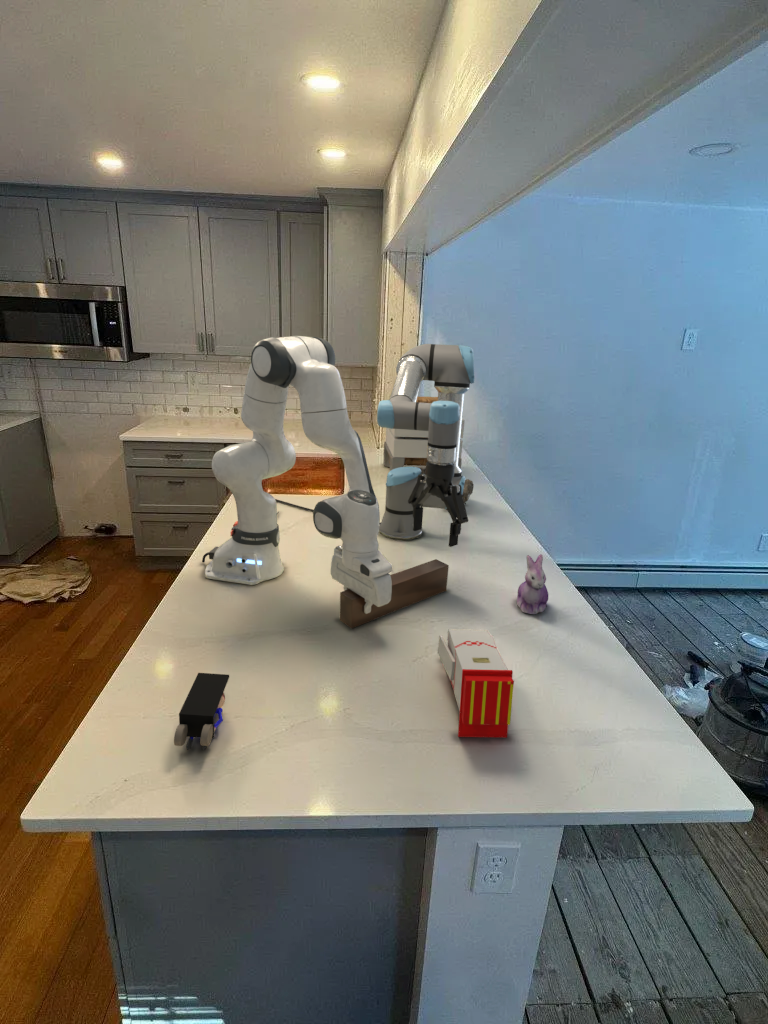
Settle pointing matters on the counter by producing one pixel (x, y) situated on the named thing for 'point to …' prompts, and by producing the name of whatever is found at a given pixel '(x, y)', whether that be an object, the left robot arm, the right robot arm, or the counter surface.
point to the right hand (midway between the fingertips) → (434, 537)
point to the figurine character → (201, 710)
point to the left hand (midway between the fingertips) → (358, 607)
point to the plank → (397, 593)
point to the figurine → (533, 588)
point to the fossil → (467, 490)
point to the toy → (478, 682)
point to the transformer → (410, 444)
